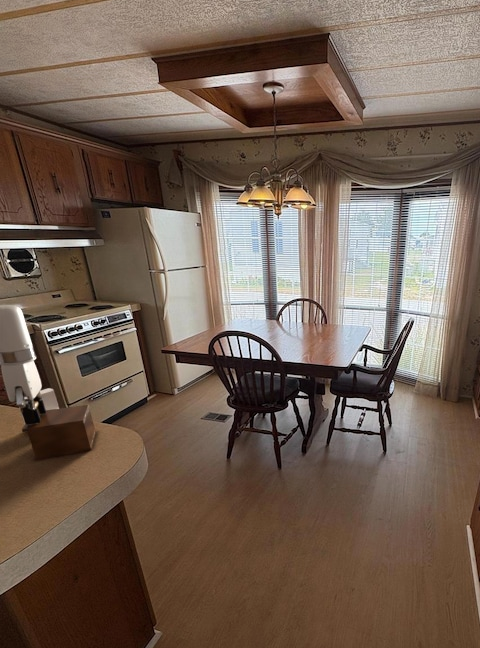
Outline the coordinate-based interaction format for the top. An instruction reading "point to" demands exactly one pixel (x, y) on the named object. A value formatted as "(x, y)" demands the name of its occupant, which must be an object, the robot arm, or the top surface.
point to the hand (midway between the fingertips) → (36, 417)
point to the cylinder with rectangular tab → (47, 399)
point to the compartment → (63, 439)
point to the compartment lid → (58, 417)
